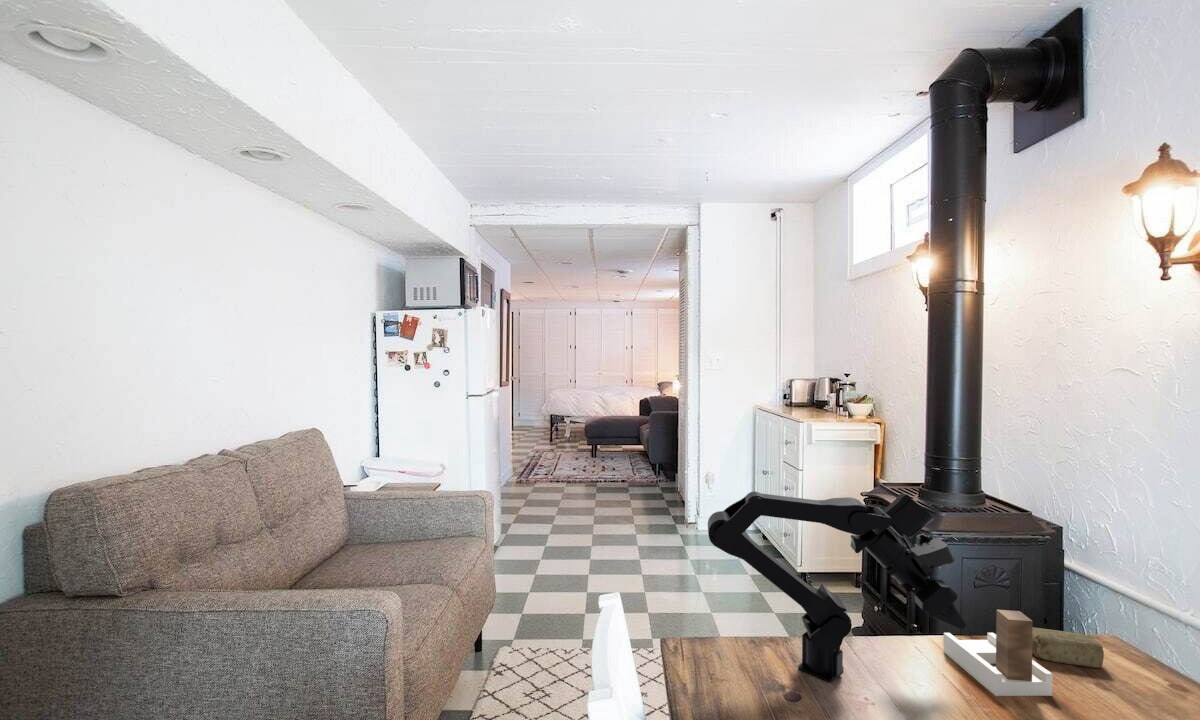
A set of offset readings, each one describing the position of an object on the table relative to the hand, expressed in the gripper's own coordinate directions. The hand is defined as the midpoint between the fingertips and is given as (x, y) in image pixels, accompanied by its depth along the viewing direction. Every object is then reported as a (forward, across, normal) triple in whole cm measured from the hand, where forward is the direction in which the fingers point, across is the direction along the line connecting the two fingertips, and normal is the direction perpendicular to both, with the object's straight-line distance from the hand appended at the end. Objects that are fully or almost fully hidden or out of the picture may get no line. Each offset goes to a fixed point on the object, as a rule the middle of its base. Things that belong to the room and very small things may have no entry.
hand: (952, 615), depth 105 cm
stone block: (+28, +13, -10) cm, 32 cm away
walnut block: (+14, 0, 0) cm, 15 cm away
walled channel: (+16, +5, +2) cm, 16 cm away
